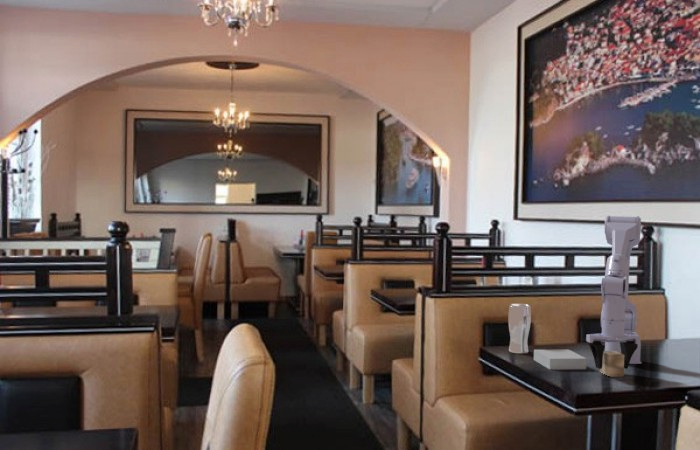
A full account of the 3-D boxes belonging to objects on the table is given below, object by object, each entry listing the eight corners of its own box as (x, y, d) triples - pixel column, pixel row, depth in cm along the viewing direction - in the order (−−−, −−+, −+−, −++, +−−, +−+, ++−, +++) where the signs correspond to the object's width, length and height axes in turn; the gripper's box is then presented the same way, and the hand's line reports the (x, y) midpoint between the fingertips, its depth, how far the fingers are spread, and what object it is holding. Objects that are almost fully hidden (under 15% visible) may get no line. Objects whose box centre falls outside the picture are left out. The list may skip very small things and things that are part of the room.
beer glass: (530, 354, 191) (532, 307, 190) (507, 353, 192) (509, 305, 192) (528, 349, 197) (530, 303, 197) (506, 348, 199) (508, 302, 198)
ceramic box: (568, 360, 186) (568, 349, 185) (586, 370, 175) (586, 358, 175) (533, 361, 184) (534, 349, 184) (549, 370, 173) (550, 358, 173)
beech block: (614, 372, 172) (615, 351, 172) (623, 376, 168) (624, 354, 168) (599, 372, 172) (600, 351, 172) (608, 376, 167) (608, 354, 167)
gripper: (596, 321, 164) (594, 371, 165) (646, 322, 166) (644, 371, 166) (583, 317, 171) (581, 365, 172) (631, 317, 173) (629, 364, 173)
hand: (611, 367), depth 170 cm, fingers open, 7 cm apart
